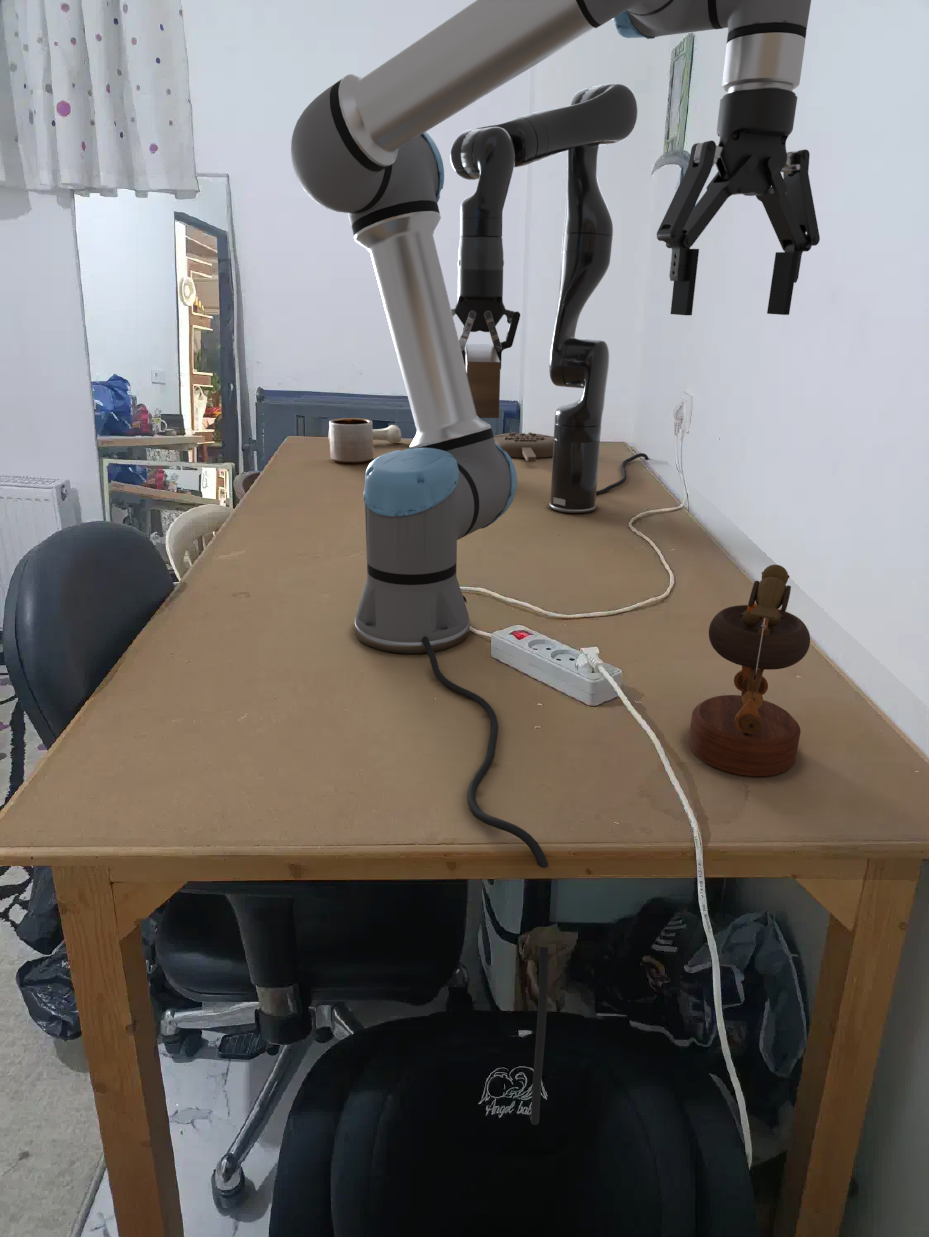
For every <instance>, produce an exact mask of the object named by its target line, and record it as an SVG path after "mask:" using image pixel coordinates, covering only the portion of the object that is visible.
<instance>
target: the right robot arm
mask: <svg viewBox="0 0 929 1237" xmlns="http://www.w3.org/2000/svg"><path fill="white" fill-rule="evenodd" d="M638 110H639V109H638V101H637V98H636V95H635V93H634V92H633V90H632V89H631V88H630V87H629V86H628V85H626V84H624V83H619V82H610V83H605V84H599V85H595V86H590V87H586V88H583V89H580V90H578V91H576V93H575V94H574V95H573V97H572V98H571V101H570V104H569V105H566V106H562V107H556V108H550V109H545V110H539V111H535V112H530V113H527V114H524V115H521V116H517V117H515V118H514V117H513V118H511V119H509V120H507V121H504V122H501V123H498V124H493V125H487V126H481V127H476V128H471V129H467V130H464V131H462V132H461V133H459V134H458V135H457V136H456V138H455V139H454V140H453V142H452V143H451V147H450V149H449V150H450V151H449V162H450V164H451V167H452V169H453V170H454V172H455V173H456V174H457V176H459V177H460V178H462V179H464V180H469V181H478V182H477V186H476V187H475V188H476V189H475V191H474V193H473V194H471V195H469V196H466V197H465V198H463V200H462V201H461V202H460V207H459V242H458V249H457V250H458V251H457V302H456V303H455V304H456V305H455V306H454V308H451V311H452V315H453V317H454V316H455V315H456V316H457V318H458V320H459V321H460V322H461V324H462V325H463V327H462V330H461V333H460V336H459V344H460V348H461V352H462V356H463V360H464V364H465V363H466V351H465V345H466V344H467V342H468V339H469V337H470V334H471V333H477V332H483V333H489V335H490V338H491V341H492V344H493V346H494V348H495V351H496V353H497V355H498V358H499V360H500V371H501V370H502V353H503V351H504V350H506V349H510V348H512V347H513V344H514V342H515V341H514V340H515V337H516V333H517V330H518V327H519V322H520V319H521V313H520V311H518V310H512V309H507V308H506V306H505V304H504V299H503V298H504V296H503V295H504V267H505V260H504V258H505V251H504V250H505V249H504V238H503V235H504V234H503V232H504V210H505V205H506V202H507V198H508V194H509V189H510V186H511V182H512V179H513V174H514V169H515V168H521V167H525V166H528V165H532V164H534V163H538V162H539V161H542V160H546V159H548V158H552V157H553V156H556V155H558V154H562V153H564V152H566V151H567V152H566V155H567V156H566V158H567V159H566V160H567V162H566V163H567V164H566V168H567V171H566V193H565V211H564V222H563V231H562V240H561V254H560V271H559V287H558V296H557V305H556V312H555V320H554V326H553V333H552V339H551V346H550V352H549V360H548V362H549V363H548V364H549V365H548V367H549V378H550V381H551V382H552V384H553V385H555V387H562V388H573V389H574V388H575V389H583V391H582V395H581V397H580V398H579V399H578V400H575V401H574V402H572V403H568V404H564V405H561V406H559V407H557V408H556V409H555V413H554V425H553V426H554V427H553V428H554V429H553V437H554V445H553V456H552V465H551V481H550V501H549V509H551V510H553V511H555V512H560V513H564V514H587V513H592V512H594V511H595V510H596V507H597V504H596V502H597V501H596V500H597V495H602V494H605V493H607V492H608V491H610V490H612V489H615V488H617V487H620V486H621V485H623V484H624V483H625V482H626V481H627V478H628V476H627V471H626V470H627V469H626V468H625V466H626V465H627V464H628V463H630V462H632V461H634V460H636V459H639V458H644V460H650V459H649V456H648V455H647V454H646V453H643V452H640V453H636V454H634V455H632V456H631V457H628V458H626V459H624V460H623V461H622V462H621V464H620V470H621V475H622V478H621V479H620V480H618V481H616V482H614V483H611V484H609V485H607V486H606V487H604V488H602V489H599V490H598V488H597V487H598V477H599V476H598V474H599V462H600V450H601V449H600V447H601V434H602V425H603V424H602V422H603V415H604V414H603V413H604V409H605V401H606V393H607V392H606V391H607V384H608V383H607V382H608V376H609V367H610V349H609V345H608V344H607V342H606V341H605V340H604V339H601V338H599V339H598V338H584V337H583V338H582V337H576V332H577V331H576V330H577V327H578V324H579V319H580V316H581V313H582V312H583V310H584V308H585V306H586V304H587V302H588V300H589V299H590V297H591V296H592V295H593V293H594V292H595V291H596V289H597V287H598V286H599V285H600V284H601V282H602V280H603V279H604V277H605V275H606V273H607V272H608V269H609V267H610V265H611V259H612V251H613V250H612V249H613V239H614V222H613V219H612V218H613V217H612V215H611V212H610V210H609V207H608V204H607V202H606V200H605V198H604V195H603V193H602V189H601V186H600V183H599V178H598V158H599V157H598V156H599V148H600V147H601V146H608V145H613V144H617V143H620V142H622V141H624V140H626V139H627V138H628V137H629V136H630V135H631V134H632V132H633V131H634V130H635V127H636V125H637V120H638V112H639V111H638ZM504 316H505V318H506V322H507V323H508V324H509V325H508V329H507V333H506V336H505V340H502V341H501V340H500V337H499V334H498V329H497V328H496V326H497V325H498V324H499V322H500V321H501V319H502V318H503V317H504Z"/></svg>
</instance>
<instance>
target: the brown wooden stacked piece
mask: <svg viewBox="0 0 929 1237" xmlns="http://www.w3.org/2000/svg"><path fill="white" fill-rule="evenodd" d="M760 573H761V580H754V582H753V584H752V585H753V586H752V589H751V592H750V596H749V599H748V603H747V604H740V605H733V606H728V607H726V608H724V609H721V610H720V611H718V613H716V614H715V615H714V617H713V618H712V619H711V621H710V624H709V628H708V639H709V642H710V645H711V647H712V648H713V650H714V651H715V652H716V653H717V654H718V655H719V656H720V657H722V658H723V659H725V660H726V661H728V662H731V663H733V664H736V665H738V666H741V670H739V671H738V672H736V673H735V675H734V677H733V685H734V687H735V688H736V689H737V690H738V691H740V692H741V693H740V695H739V694H738V695H737V694H723V695H717V696H713V697H710V698H708V699H705V700H704V701H702V702H700V703H698V704H697V705H696V706H694V708H693V710H692V711H691V712H692V713H691V719H690V727H689V734H688V746H689V748H690V750H691V751H692V753H693V754H694V755H695V756H696V757H698V758H699V759H700V760H701V761H703V762H704V763H706V764H708V765H710V766H712V767H714V768H716V769H719V770H722V771H724V772H727V773H731V774H735V775H741V776H749V777H769V776H775V775H779V774H782V773H784V772H786V771H788V770H790V769H791V768H792V767H793V766H794V764H795V763H796V759H797V753H798V748H799V742H800V738H801V734H802V733H801V732H802V731H801V727H800V725H799V723H798V721H797V720H796V719H795V718H794V717H793V716H792V715H791V714H790V712H788V711H787V710H785V709H784V708H782V707H781V706H779V705H777V704H775V703H773V702H770V701H768V700H765V699H764V695H765V694H766V693H767V691H768V689H769V684H768V680H767V679H766V677H764V676H763V673H764V671H765V670H769V671H770V670H772V671H773V670H781V669H787V668H790V667H791V666H795V665H796V664H797V663H799V662H800V661H801V660H803V658H804V657H805V656H807V653H808V652H809V649H810V646H811V635H810V631H809V629H808V627H807V625H806V624H805V622H804V621H803V620H802V619H800V618H799V617H798V616H796V615H795V614H793V613H791V612H788V611H787V609H788V604H789V601H790V596H791V591H792V590H791V589H792V586H791V585H786V584H787V583H788V580H789V579H790V575H789V573H788V570H787V569H786V568H785V567H783V566H782V565H780V564H771V565H768V566H767V567H766V568H764V570H763V571H761V572H760Z"/></svg>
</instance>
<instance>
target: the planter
mask: <svg viewBox="0 0 929 1237" xmlns="http://www.w3.org/2000/svg"><path fill="white" fill-rule="evenodd" d="M328 424H329V425H328V426H329V428H330V442H329V453H330V454H329V455H330V456H329V457H330V459H331V460H332V461H333V462H335V463H341V464H363V463H367V462H371V461H373V460H374V456H375V455H374V452H375V451H374V450H375V449H374V440H373V429H374V428H373V420H371V419H369V418H362V417H361V418H360V417H342V418H341V417H340V418H335V419H334V418H333V419H331V420H329V421H328Z"/></svg>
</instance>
